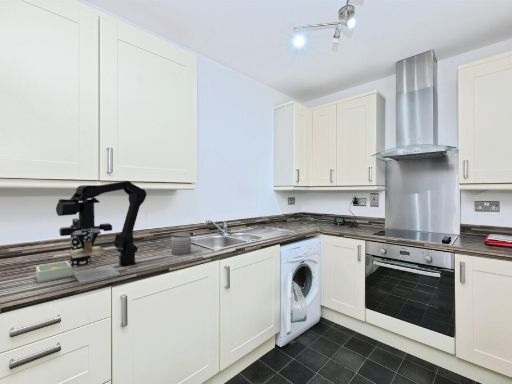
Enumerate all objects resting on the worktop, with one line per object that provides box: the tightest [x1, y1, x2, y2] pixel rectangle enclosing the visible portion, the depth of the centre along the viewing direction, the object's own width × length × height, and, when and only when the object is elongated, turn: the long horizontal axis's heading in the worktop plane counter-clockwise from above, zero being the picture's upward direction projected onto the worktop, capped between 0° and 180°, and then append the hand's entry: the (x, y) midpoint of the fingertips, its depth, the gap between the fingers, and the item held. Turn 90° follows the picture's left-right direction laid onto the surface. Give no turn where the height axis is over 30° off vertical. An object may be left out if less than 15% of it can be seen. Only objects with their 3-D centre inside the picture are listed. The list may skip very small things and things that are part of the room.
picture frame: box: [73, 266, 121, 284], centre depth 109 cm, size 15×13×1 cm
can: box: [170, 232, 192, 257], centre depth 147 cm, size 11×11×12 cm
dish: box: [35, 260, 73, 284], centre depth 107 cm, size 11×11×4 cm
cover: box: [68, 240, 107, 258], centre depth 109 cm, size 12×12×5 cm
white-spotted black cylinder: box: [70, 224, 92, 267], centre depth 125 cm, size 8×8×20 cm
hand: (87, 248), depth 109 cm, fingers closed on cover, 2 cm apart
